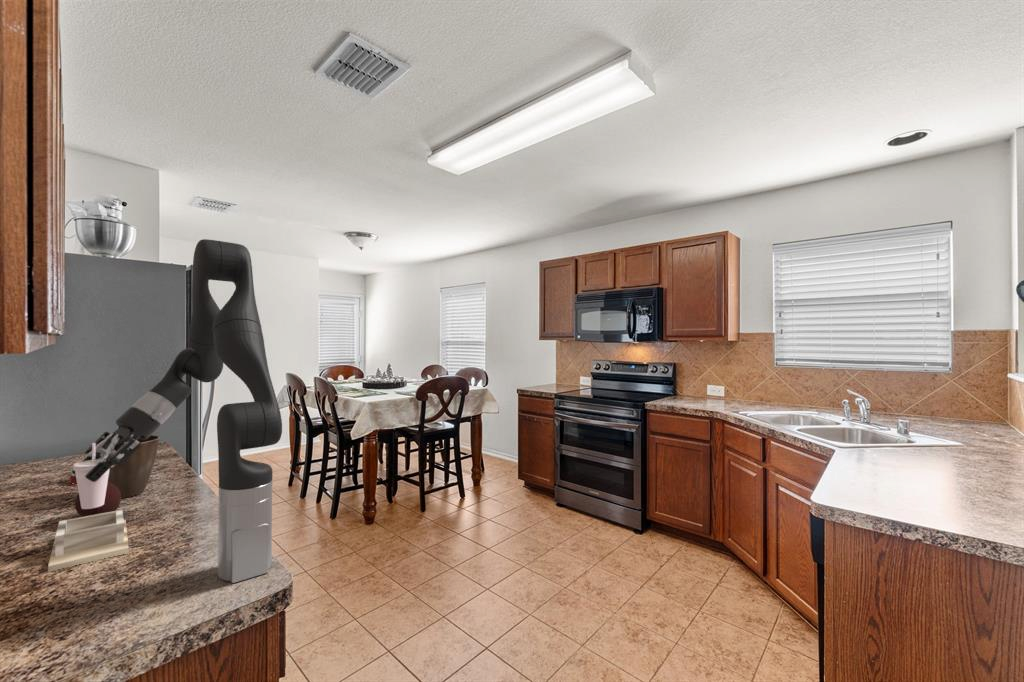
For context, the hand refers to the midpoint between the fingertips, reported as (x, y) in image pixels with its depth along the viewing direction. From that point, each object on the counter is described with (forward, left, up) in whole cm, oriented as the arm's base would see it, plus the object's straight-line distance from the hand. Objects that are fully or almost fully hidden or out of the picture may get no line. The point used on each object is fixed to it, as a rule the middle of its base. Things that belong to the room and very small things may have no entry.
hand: (82, 477), depth 98 cm
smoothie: (+1, -2, -7) cm, 7 cm away
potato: (+21, -2, -16) cm, 26 cm away
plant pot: (+38, -8, -16) cm, 43 cm away
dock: (0, -1, -16) cm, 16 cm away
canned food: (+63, 0, -16) cm, 65 cm away
